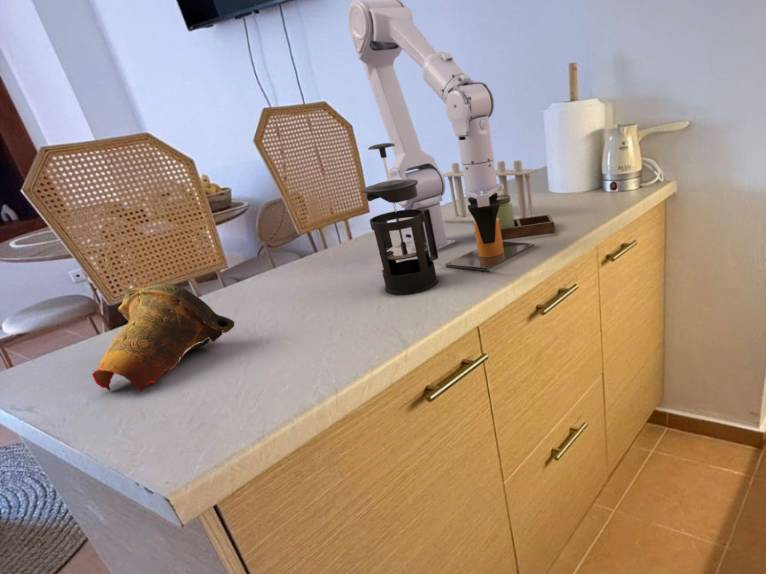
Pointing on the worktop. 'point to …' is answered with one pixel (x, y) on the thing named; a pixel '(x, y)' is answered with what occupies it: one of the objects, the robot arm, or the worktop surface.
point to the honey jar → (489, 248)
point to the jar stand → (529, 227)
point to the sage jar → (505, 212)
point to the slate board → (488, 258)
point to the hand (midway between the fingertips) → (488, 238)
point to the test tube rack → (503, 180)
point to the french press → (409, 272)
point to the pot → (158, 333)
